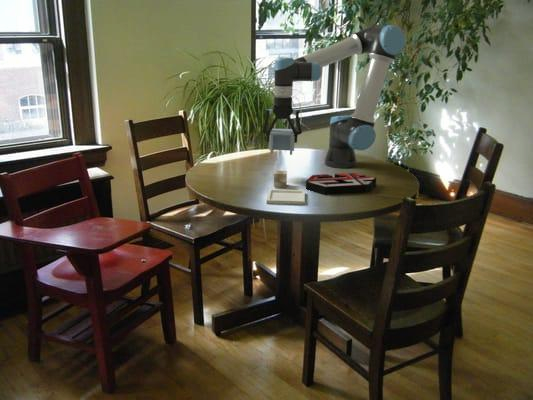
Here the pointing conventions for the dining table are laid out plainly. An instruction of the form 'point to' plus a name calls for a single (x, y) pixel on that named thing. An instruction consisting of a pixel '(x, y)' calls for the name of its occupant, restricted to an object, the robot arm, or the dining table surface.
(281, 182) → the block
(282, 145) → the open box
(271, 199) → the tray
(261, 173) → the dining table surface
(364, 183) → the emblem
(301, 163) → the dining table surface
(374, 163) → the dining table surface
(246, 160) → the dining table surface
